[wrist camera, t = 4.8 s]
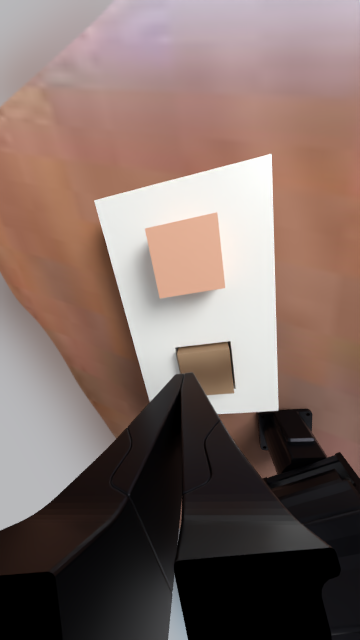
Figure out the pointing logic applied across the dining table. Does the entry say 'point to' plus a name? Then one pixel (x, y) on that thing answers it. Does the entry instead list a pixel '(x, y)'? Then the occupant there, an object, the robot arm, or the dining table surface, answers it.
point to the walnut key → (208, 366)
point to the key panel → (209, 306)
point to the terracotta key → (187, 256)
